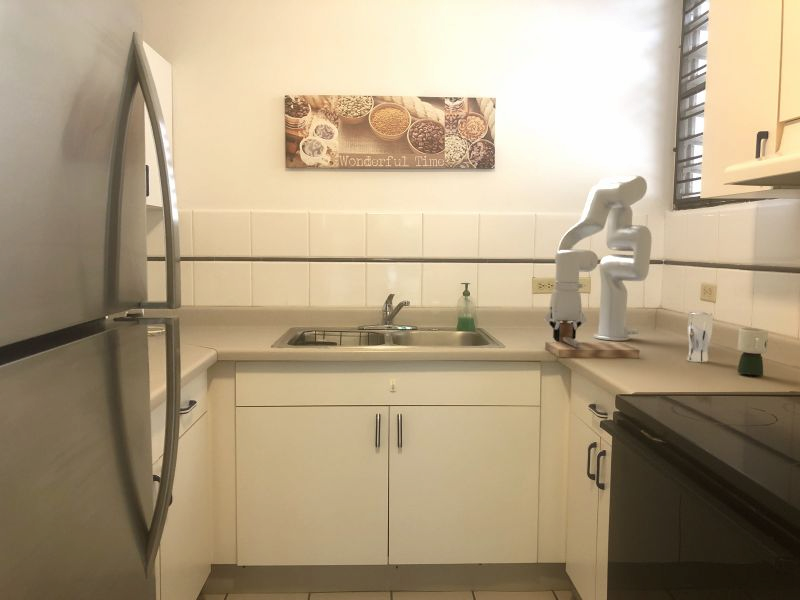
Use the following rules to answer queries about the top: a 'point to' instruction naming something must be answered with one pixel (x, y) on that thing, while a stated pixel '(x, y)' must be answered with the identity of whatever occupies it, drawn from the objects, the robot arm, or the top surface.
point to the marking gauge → (567, 334)
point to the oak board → (592, 350)
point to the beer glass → (699, 336)
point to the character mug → (752, 350)
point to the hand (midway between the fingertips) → (564, 340)
